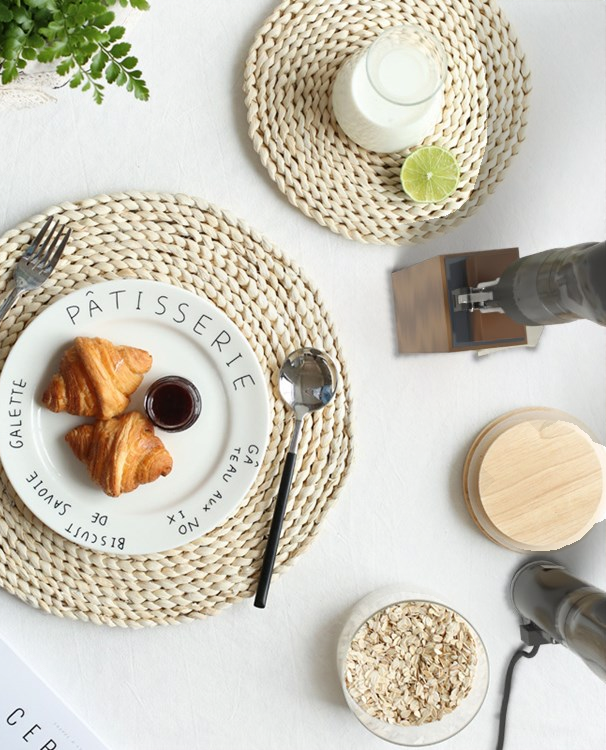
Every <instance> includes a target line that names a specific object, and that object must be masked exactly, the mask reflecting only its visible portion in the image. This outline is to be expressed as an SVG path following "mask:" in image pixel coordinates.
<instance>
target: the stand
mask: <svg viewBox="0 0 606 750" xmlns="http://www.w3.org/2000/svg"><path fill="white" fill-rule="evenodd" d="M514 251H516V252H517V259H519V258H521V257H520V248H519V247H518V246H516V247H505V248H497V249H486V250H475V251H467V252H454V253H445V254H438V255H436V256H433V257H431V258H428V259H425V260H422V261H420V262H418V263H415V264H412V265H410V266H408V267H407V266H406V267H404V268H401V269H399V270H397V271H393V272H391V273H390V275H391V286H392V293H393V294H392V295H393V296H392V297H393V305H394V306H393V307H394V316H395V324H396V325H395V327H396V336H397V346H398V354H399V355H410V354H411V355H413V354H415V355H416V354H452V353H460V352H461V353H462V352H469V351H476V350H480V349H490V348H499V347H509V346H518V345H527V344H528V342H527V331H526V326H525V325H523V326H524V337H525V341H518V342H509V343H499V344H490V345H480V346H471V347H461V348H453V347H452V336H451V326H450V316H449V305H448V295H447V285H446V274H445V264H444V258H453V257H463V256H473V255H483V254H493V253H504V252H514Z"/></svg>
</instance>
